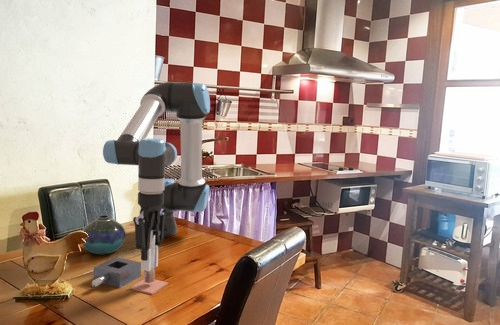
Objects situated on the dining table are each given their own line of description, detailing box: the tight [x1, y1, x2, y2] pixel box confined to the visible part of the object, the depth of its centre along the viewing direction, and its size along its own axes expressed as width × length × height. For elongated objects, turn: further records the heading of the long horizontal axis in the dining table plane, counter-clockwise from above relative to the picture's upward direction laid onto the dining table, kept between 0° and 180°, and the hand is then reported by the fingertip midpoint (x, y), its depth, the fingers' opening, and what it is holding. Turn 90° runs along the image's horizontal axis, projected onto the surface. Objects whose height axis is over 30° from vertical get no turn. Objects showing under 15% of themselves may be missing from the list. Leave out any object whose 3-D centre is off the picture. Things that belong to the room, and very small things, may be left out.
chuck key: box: [143, 228, 160, 283], centre depth 118 cm, size 6×3×16 cm, turn 68°
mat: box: [129, 278, 169, 296], centre depth 119 cm, size 8×8×1 cm
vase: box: [82, 214, 126, 255], centre depth 145 cm, size 15×15×13 cm
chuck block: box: [91, 256, 142, 289], centre depth 121 cm, size 15×10×4 cm, turn 158°
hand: (149, 267), depth 119 cm, fingers closed on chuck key, 3 cm apart
